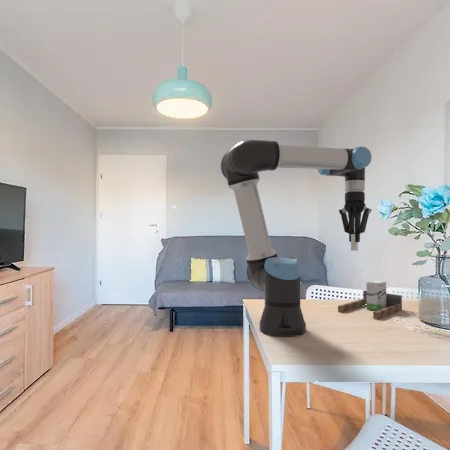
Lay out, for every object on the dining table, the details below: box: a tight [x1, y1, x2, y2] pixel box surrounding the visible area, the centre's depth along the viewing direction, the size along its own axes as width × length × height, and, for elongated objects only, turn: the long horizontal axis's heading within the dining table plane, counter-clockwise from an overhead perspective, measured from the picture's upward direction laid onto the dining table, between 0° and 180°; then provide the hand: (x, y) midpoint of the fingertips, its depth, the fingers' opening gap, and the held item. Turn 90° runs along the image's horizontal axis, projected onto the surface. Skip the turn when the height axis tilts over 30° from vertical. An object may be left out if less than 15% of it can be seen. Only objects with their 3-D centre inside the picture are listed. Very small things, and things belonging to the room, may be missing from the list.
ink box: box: [365, 279, 387, 312], centre depth 142 cm, size 9×5×12 cm, turn 130°
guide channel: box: [337, 290, 403, 320], centre depth 139 cm, size 24×16×6 cm
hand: (354, 250), depth 135 cm, fingers closed
